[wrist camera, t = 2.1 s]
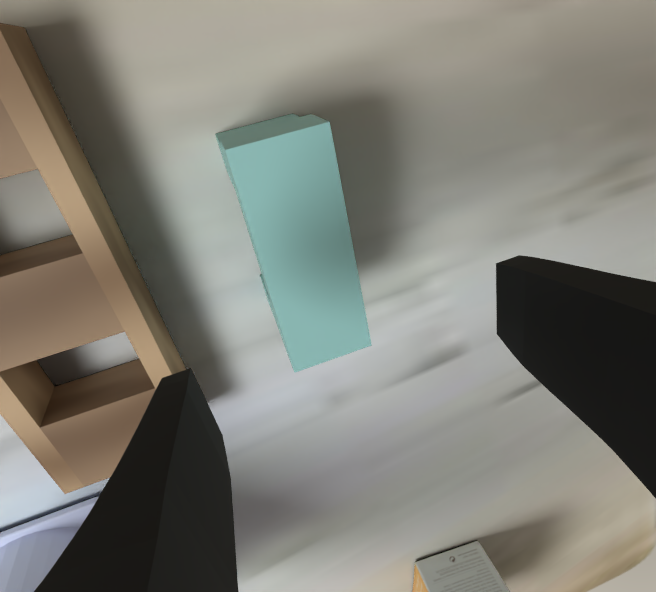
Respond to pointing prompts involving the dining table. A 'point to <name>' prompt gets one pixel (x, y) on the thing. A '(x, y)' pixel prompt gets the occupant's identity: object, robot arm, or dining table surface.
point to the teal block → (299, 234)
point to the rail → (69, 294)
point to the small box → (458, 572)
